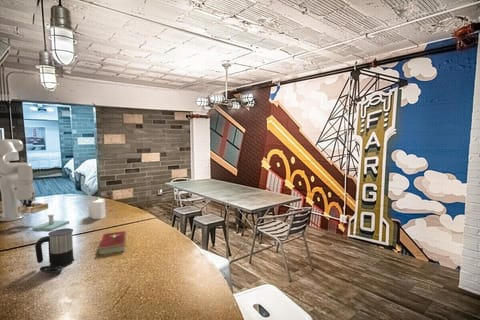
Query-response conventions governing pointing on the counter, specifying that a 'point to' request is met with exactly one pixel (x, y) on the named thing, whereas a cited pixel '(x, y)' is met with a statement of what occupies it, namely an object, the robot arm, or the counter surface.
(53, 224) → the lid with knob
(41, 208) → the ring
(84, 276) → the counter surface
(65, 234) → the milk frother
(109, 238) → the hardcover book
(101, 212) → the corner bracket
